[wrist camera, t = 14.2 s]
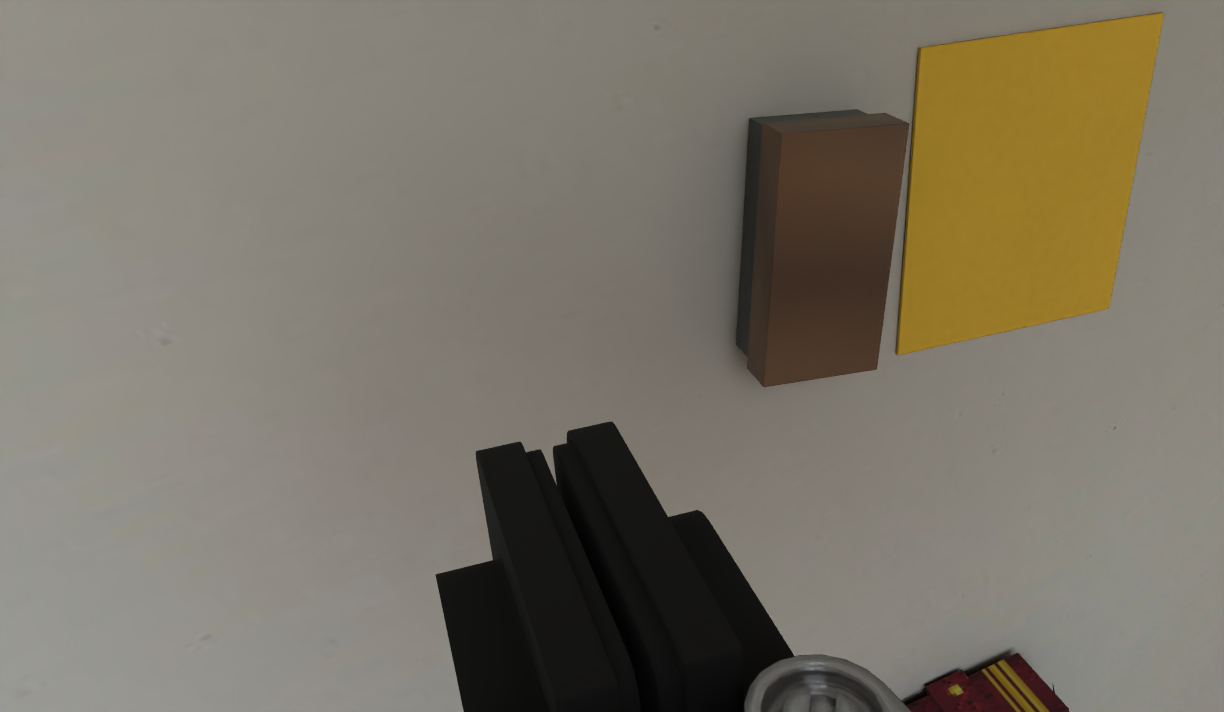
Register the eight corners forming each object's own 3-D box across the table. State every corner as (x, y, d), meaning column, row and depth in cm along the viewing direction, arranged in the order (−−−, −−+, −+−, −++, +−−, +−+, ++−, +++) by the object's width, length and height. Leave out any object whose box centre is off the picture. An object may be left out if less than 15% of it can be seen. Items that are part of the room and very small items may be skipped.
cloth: (918, 47, 34) (920, 48, 34) (1161, 12, 36) (1164, 13, 36) (895, 353, 40) (898, 355, 39) (1106, 307, 42) (1109, 308, 42)
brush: (743, 112, 33) (781, 134, 30) (863, 102, 34) (910, 123, 32) (730, 350, 37) (763, 387, 35) (837, 335, 38) (877, 370, 36)
